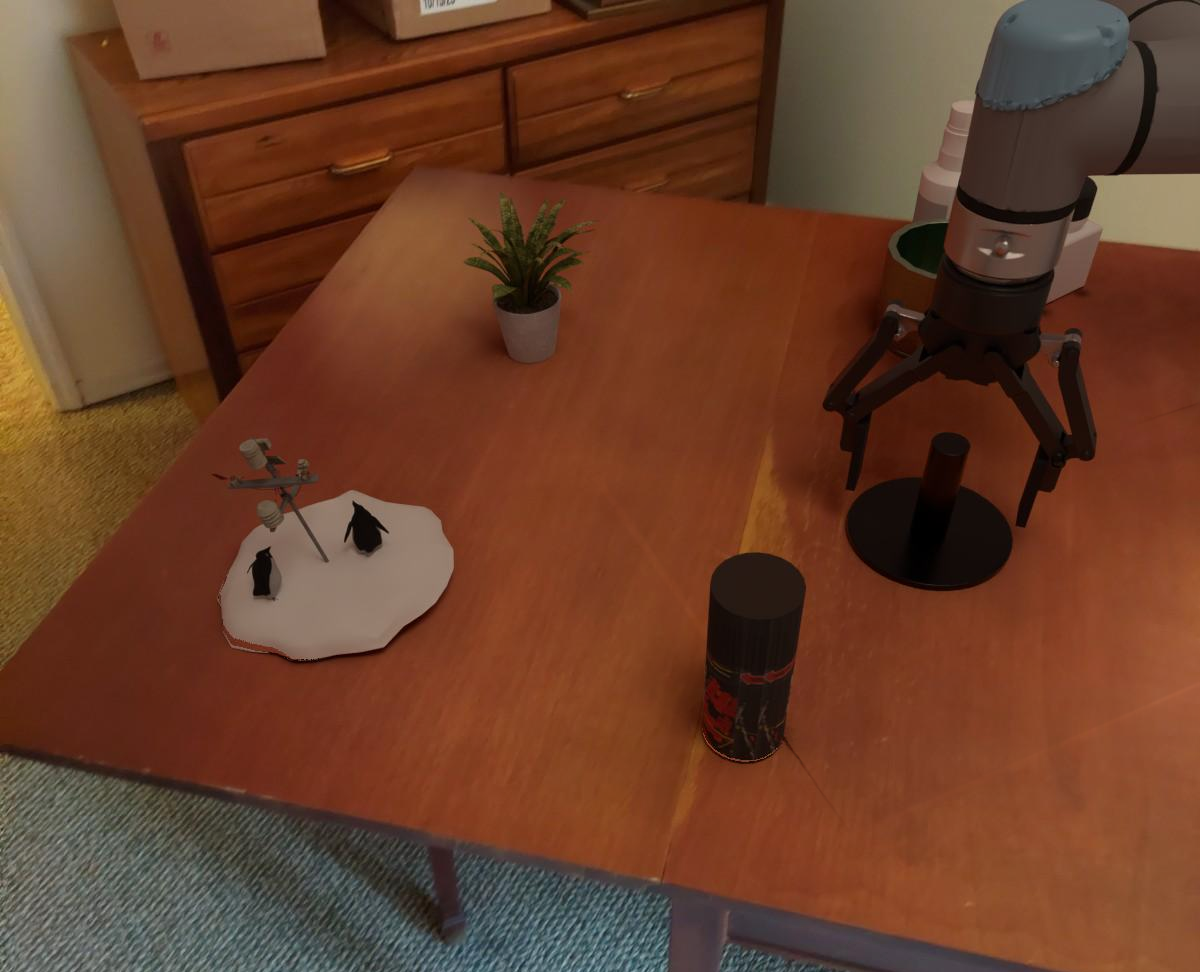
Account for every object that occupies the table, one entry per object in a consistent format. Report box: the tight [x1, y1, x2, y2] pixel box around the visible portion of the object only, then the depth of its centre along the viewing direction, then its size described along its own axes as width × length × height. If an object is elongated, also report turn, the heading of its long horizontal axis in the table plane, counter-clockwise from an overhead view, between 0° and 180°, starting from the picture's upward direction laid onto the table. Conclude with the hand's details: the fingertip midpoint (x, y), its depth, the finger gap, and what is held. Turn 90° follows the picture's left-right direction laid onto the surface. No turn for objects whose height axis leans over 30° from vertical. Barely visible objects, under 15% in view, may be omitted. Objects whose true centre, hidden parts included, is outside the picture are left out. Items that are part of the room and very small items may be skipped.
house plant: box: [461, 190, 598, 364], centre depth 106 cm, size 14×14×16 cm
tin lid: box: [845, 431, 1014, 592], centre depth 87 cm, size 14×14×10 cm
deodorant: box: [701, 551, 807, 765], centre depth 72 cm, size 6×6×15 cm
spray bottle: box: [911, 99, 975, 224], centre depth 115 cm, size 7×7×18 cm
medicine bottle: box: [1046, 176, 1104, 305], centre depth 114 cm, size 7×7×12 cm
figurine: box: [210, 437, 455, 661], centre depth 83 cm, size 20×18×16 cm
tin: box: [873, 219, 949, 359], centre depth 109 cm, size 13×13×10 cm
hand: (935, 498), depth 87 cm, fingers open, 13 cm apart
